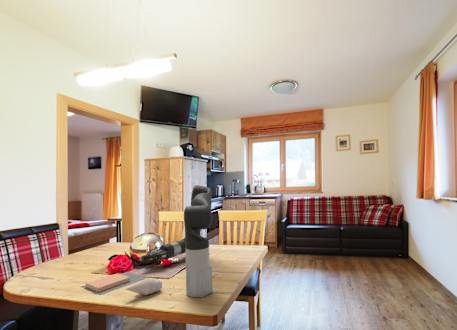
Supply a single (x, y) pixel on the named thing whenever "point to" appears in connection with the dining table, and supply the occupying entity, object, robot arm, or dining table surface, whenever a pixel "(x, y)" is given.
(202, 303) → the dining table surface
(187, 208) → the robot arm
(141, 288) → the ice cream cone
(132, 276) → the mat
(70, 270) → the dining table surface
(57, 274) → the dining table surface
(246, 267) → the dining table surface
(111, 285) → the tile
